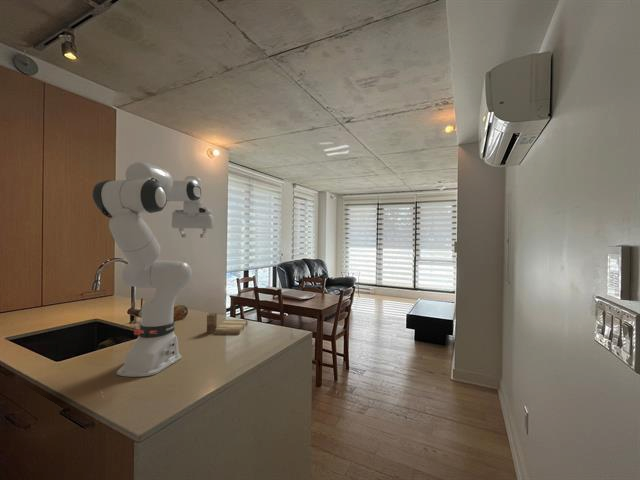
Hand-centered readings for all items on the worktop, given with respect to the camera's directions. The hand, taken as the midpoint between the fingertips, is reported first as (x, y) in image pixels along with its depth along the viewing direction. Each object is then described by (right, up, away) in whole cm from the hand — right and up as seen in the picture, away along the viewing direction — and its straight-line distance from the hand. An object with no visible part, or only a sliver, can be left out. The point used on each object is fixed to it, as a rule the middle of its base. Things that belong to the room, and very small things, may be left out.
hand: (192, 237), depth 145 cm
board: (+18, -48, +8) cm, 52 cm away
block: (+8, -48, +3) cm, 49 cm away
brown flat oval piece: (-20, -48, +22) cm, 56 cm away
